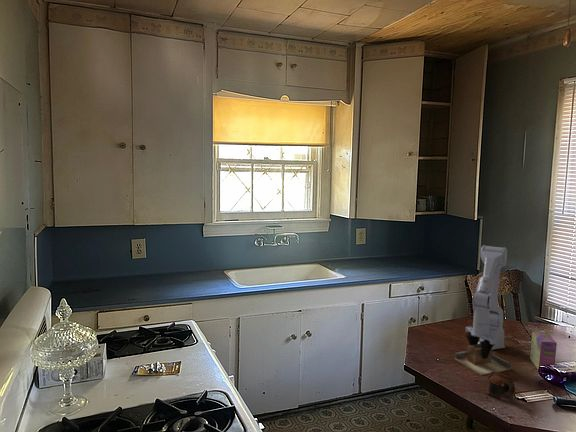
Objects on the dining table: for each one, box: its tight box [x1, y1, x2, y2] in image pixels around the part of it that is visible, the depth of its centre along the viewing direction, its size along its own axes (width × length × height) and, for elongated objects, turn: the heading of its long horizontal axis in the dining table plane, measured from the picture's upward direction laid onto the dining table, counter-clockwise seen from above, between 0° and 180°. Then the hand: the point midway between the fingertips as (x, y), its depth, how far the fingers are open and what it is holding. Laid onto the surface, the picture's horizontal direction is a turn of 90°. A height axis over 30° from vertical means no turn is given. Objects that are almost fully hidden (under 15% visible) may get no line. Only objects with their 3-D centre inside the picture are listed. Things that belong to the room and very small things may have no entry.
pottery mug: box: [485, 372, 516, 400], centre depth 156 cm, size 12×10×8 cm
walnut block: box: [466, 344, 493, 365], centre depth 181 cm, size 4×8×6 cm, turn 109°
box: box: [529, 331, 558, 370], centre depth 178 cm, size 10×6×12 cm, turn 168°
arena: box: [453, 350, 511, 376], centre depth 180 cm, size 14×15×3 cm
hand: (479, 354), depth 181 cm, fingers open, 6 cm apart
